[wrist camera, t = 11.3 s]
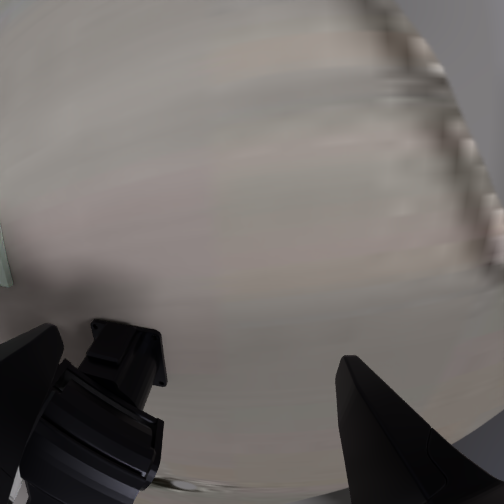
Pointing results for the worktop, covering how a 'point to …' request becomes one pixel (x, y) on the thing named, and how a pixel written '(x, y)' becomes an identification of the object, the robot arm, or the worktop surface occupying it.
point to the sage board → (4, 265)
